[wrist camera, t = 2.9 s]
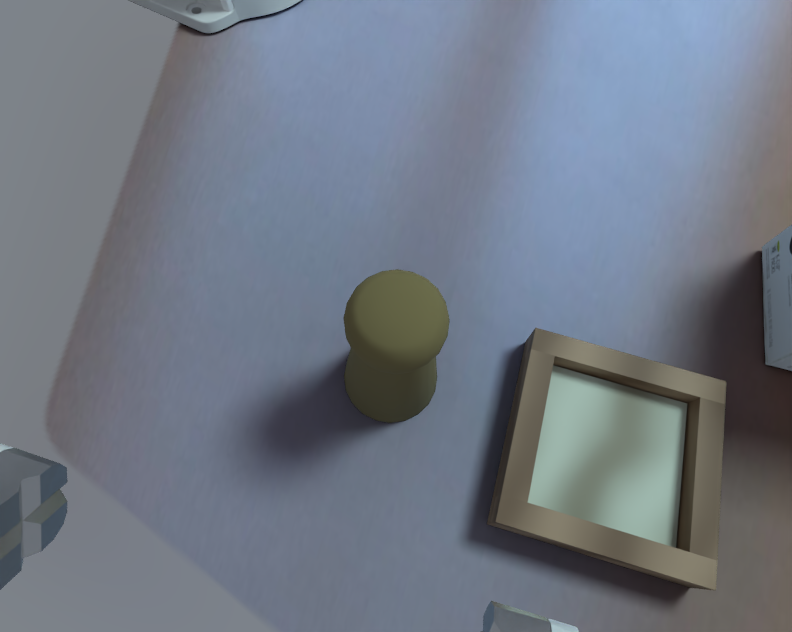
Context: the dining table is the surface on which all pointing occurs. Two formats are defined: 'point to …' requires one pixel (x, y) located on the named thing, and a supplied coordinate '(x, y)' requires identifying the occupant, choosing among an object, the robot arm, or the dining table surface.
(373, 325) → the olive game pawn
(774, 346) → the tea box
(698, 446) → the holder
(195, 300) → the dining table surface
